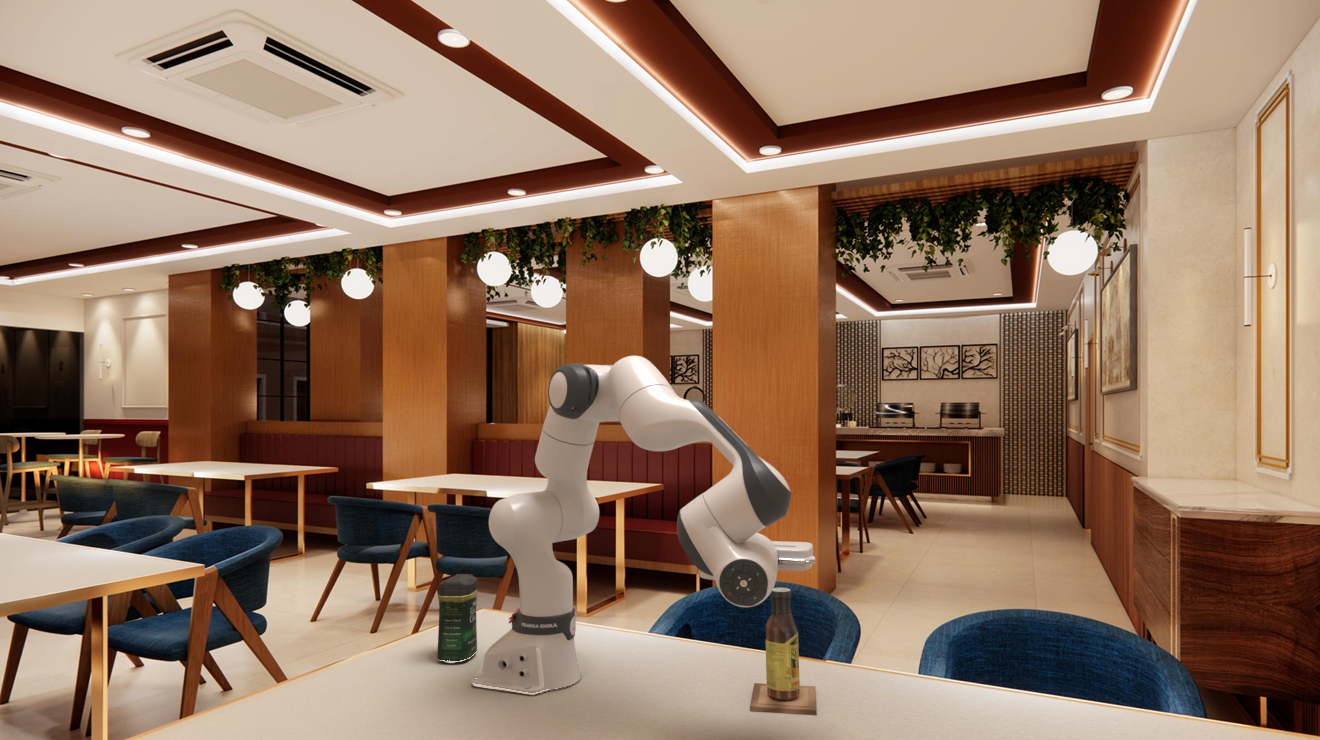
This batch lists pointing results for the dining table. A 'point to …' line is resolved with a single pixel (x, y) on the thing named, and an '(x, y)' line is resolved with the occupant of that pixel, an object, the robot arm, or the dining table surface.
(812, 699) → the trivet
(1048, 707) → the dining table surface
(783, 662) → the sauce bottle
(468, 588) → the coffee jar
